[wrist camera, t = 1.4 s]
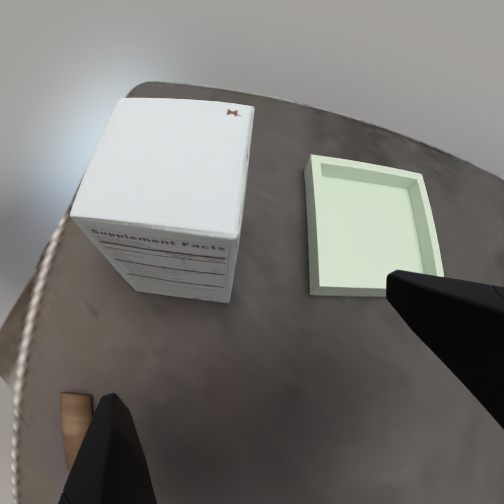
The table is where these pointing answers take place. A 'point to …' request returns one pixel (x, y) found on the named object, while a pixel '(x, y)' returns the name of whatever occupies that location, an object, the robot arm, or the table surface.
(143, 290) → the supplement box
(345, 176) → the dock tray
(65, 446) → the walnut lock pin
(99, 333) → the table surface
